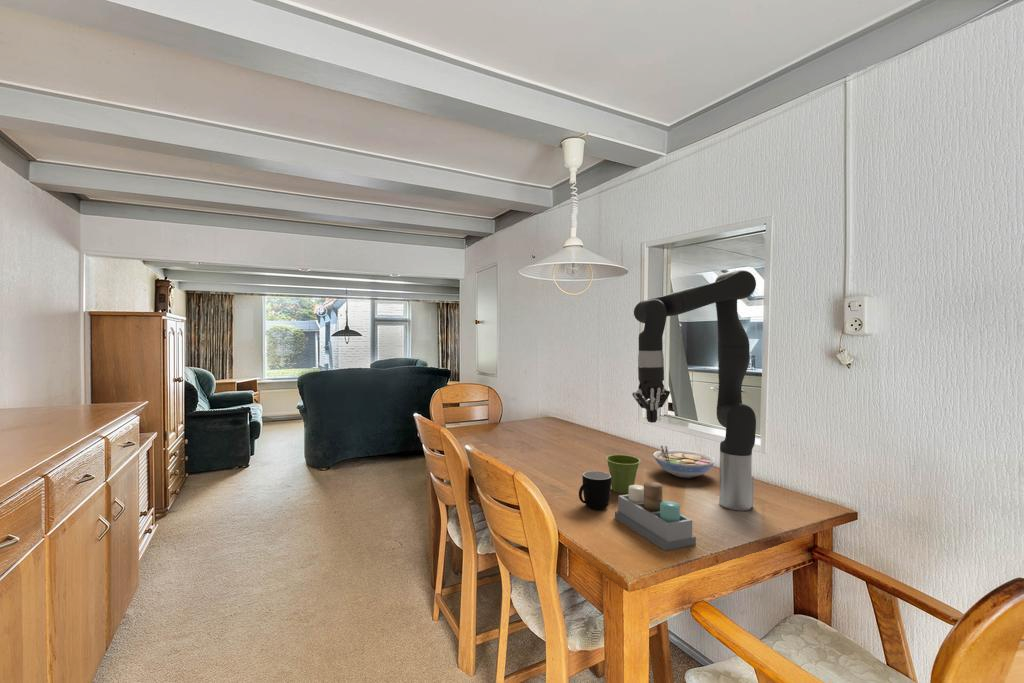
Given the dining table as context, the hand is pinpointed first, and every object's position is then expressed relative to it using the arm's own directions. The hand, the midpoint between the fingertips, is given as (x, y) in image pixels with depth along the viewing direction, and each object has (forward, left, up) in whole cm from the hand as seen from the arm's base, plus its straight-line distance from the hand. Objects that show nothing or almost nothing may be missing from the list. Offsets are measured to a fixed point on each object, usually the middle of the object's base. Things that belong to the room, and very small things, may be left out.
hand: (651, 422), depth 138 cm
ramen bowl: (-37, -27, -28) cm, 54 cm away
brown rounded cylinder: (+7, +10, -22) cm, 25 cm away
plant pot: (-4, -20, -28) cm, 35 cm away
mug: (+14, -10, -28) cm, 33 cm away
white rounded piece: (+7, +3, -25) cm, 26 cm away
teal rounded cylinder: (+7, +17, -25) cm, 31 cm away
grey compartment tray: (+7, +10, -28) cm, 31 cm away
